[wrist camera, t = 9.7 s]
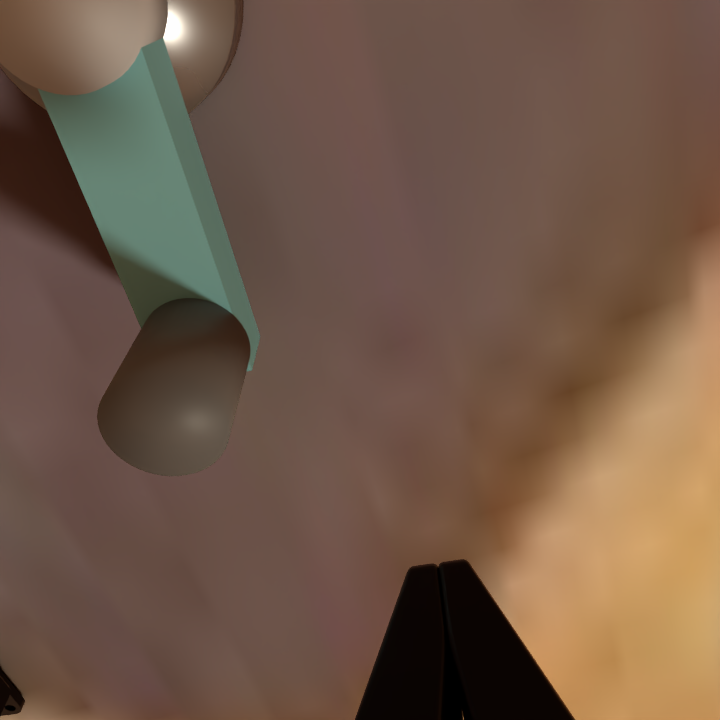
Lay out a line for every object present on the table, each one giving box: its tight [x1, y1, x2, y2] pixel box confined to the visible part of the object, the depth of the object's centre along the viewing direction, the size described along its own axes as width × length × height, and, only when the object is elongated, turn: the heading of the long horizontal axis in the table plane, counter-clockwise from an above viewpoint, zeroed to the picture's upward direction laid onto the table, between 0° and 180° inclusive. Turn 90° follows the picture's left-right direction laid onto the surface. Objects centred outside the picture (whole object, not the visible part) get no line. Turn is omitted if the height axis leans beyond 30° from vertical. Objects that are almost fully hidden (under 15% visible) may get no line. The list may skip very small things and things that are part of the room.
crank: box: [0, 0, 260, 476], centre depth 14 cm, size 11×3×5 cm, turn 11°
